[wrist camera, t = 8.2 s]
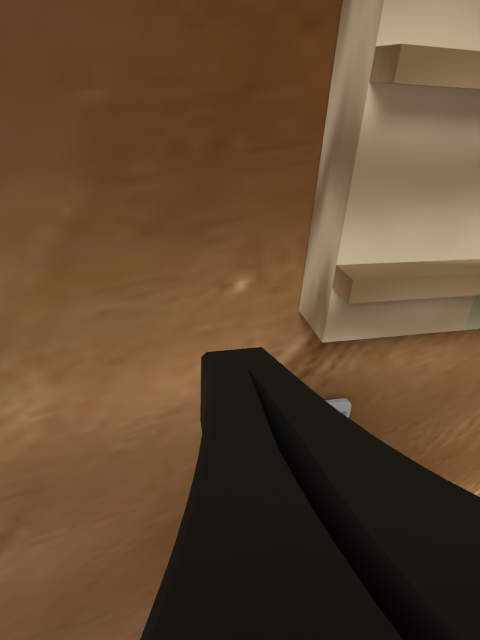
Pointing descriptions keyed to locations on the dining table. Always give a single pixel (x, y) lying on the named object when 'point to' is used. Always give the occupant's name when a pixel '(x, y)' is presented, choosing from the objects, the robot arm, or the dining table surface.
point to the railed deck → (398, 175)
